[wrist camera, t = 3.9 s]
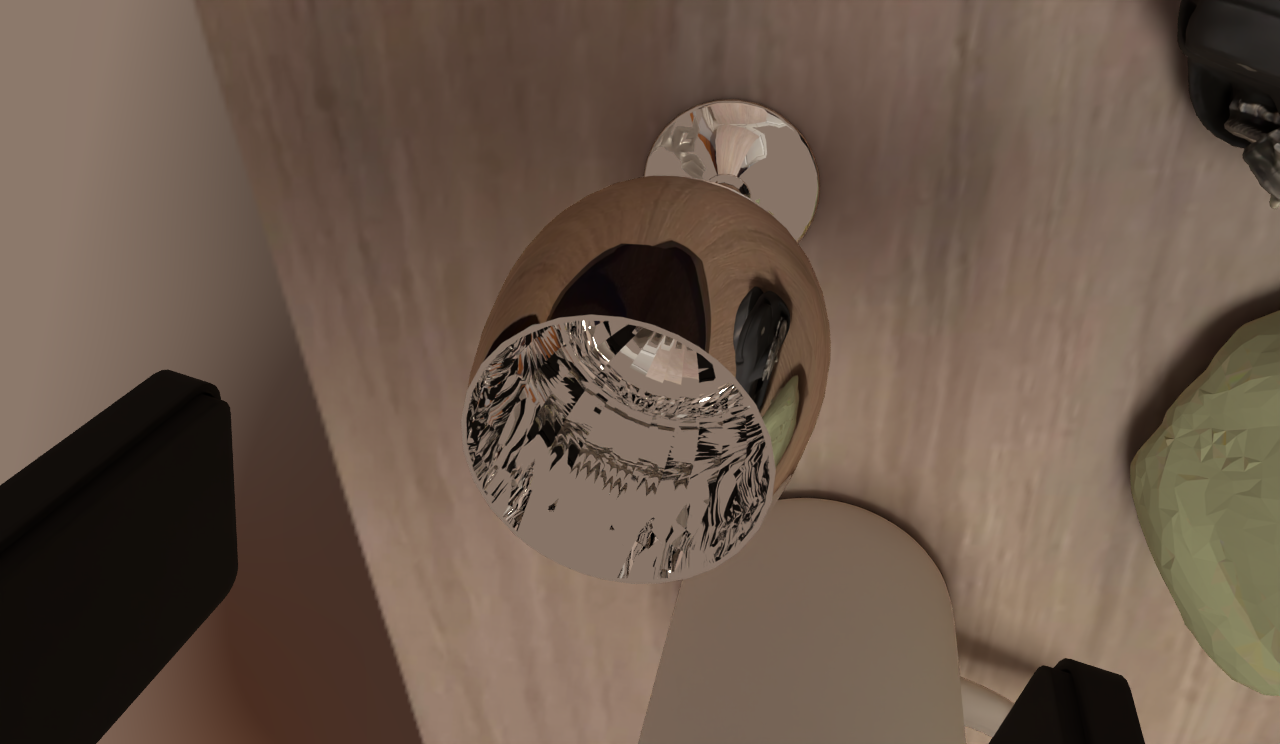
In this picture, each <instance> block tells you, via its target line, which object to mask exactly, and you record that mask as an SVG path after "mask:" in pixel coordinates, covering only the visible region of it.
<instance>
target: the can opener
mask: <svg viewBox="0 0 1280 744" xmlns="http://www.w3.org/2000/svg"><path fill="white" fill-rule="evenodd" d="M1178 43H1179V47H1180V49H1181V50H1182V52H1183V54H1184V55H1186V56H1187V57H1188V83H1189V93H1190V98H1191V101H1192V104H1193V107H1194V109H1195V112H1196V115H1197V116H1198V118H1199V119H1200V121H1201V122H1202V124H1203V125H1204V126H1205V127H1206V128H1207V130H1209V131H1210V132H1212V133H1213V134H1214V135H1215V136H1216V137H1218V138H1220V139H1222V140H1223V141H1225V142H1227V143H1229V144H1231V145H1232V146H1236V147H1240V148H1244V149H1245V150H1244V152H1243V154H1242V156H1243V159H1244V161H1245V162H1246V163H1247V164H1248V165H1249V167H1250V170H1251V171H1252V172H1253V174H1254V175H1255V177H1256V178H1257V180H1258V181H1259V183H1260V185H1261V186H1262V187H1263V188H1264V189H1265V190H1266V191H1267V192H1268V193H1269V194H1271V198H1270V202H1269V203H1270V207H1271V208H1273V209H1276V208H1278V207H1279V206H1280V0H1182V1H1181V5H1180V10H1179V16H1178Z"/></svg>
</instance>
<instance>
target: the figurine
mask: <svg viewBox="0 0 1280 744" xmlns="http://www.w3.org/2000/svg"><path fill="white" fill-rule="evenodd" d="M1130 481H1131V492H1132V496H1133V500H1134V504H1135V508H1136V512H1137V516H1138V519H1139V522H1140V525H1141V528H1142V531H1143V533H1144V536H1145V539H1146V542H1147V544H1148V547H1149V549H1150V552H1151V554H1152V556H1153V559H1154V561H1155V563H1156V565H1157V567H1158V570H1159V572H1160V574H1161V576H1162V578H1163V580H1164V582H1165V583H1166V585H1167V587H1168V589H1169V591H1170V593H1171V595H1172V597H1173V599H1174V601H1175V603H1176V605H1177V607H1178V609H1179V611H1180V613H1181V616H1182V618H1183V620H1184V623H1185V625H1186V626H1187V627H1188V629H1189V630H1190V631H1191V632H1192V634H1193V635H1194V636H1195V638H1196V640H1197V641H1198V643H1199V645H1200V646H1201V647H1202V648H1203V649H1204V651H1205V652H1206V653H1207V654H1208V656H1209V657H1210V658H1211V659H1212V660H1213V661H1214V662H1215V663H1216V664H1217V665H1218V666H1219V667H1220V668H1221V669H1222V670H1223V671H1224V672H1225V673H1226V674H1227V675H1228V676H1229V677H1230V678H1231V679H1232V680H1234V681H1236V682H1239V683H1241V684H1243V685H1245V686H1247V687H1249V688H1251V689H1253V690H1255V691H1257V692H1259V693H1261V694H1263V695H1271V696H1280V310H1279V311H1276V312H1274V313H1271V314H1269V315H1266V316H1263V317H1261V318H1258V319H1256V320H1253V321H1251V322H1248V323H1245V324H1244V325H1243V326H1241V327H1240V328H1239V329H1238V330H1237V331H1236V332H1235V333H1234V334H1233V335H1232V336H1231V338H1230V339H1229V340H1228V341H1227V342H1226V343H1225V344H1224V346H1223V347H1222V348H1221V349H1220V350H1219V351H1218V352H1217V354H1216V355H1215V356H1214V358H1213V359H1212V361H1211V363H1210V365H1209V366H1208V368H1207V369H1206V370H1205V371H1204V372H1203V373H1202V374H1201V375H1200V376H1199V377H1198V378H1197V379H1196V380H1195V381H1194V382H1193V383H1191V384H1190V385H1189V386H1188V387H1187V388H1186V389H1185V390H1184V391H1183V392H1182V393H1181V395H1180V396H1179V397H1178V398H1177V399H1176V401H1175V402H1174V403H1173V404H1172V405H1171V407H1170V408H1169V409H1168V410H1167V412H1166V414H1165V417H1164V419H1163V422H1162V424H1161V425H1160V426H1159V428H1158V429H1157V430H1156V431H1155V432H1154V433H1153V434H1152V436H1151V437H1150V438H1149V439H1148V440H1147V441H1146V442H1145V443H1144V445H1143V446H1142V447H1141V448H1140V449H1139V450H1138V452H1137V453H1136V455H1135V457H1134V459H1133V460H1132V462H1131V467H1130Z"/></svg>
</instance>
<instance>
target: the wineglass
mask: <svg viewBox="0 0 1280 744" xmlns="http://www.w3.org/2000/svg"><path fill="white" fill-rule="evenodd" d="M819 195H820V178H819V170H818V167H817V163H816V159H815V157H814V154H813V152H812V150H811V148H810V146H809V144H808V142H807V141H806V139H805V138H804V136H803V135H802V134H801V132H800V131H799V130H798V129H797V128H796V127H795V126H794V125H793V124H791V123H790V122H789V121H788V120H787V119H786V118H784V117H783V116H782V115H781V114H779V113H777V112H775V111H773V110H771V109H769V108H767V107H765V106H763V105H761V104H758V103H754V102H749V101H744V100H740V99H724V100H714V101H710V102H706V103H702V104H698V105H696V106H694V107H692V108H690V109H688V110H686V111H684V112H682V113H681V114H679V115H678V116H677V117H676V118H674V119H673V120H672V121H671V122H670V123H669V124H668V125H666V126H665V127H664V129H663V130H662V132H661V133H660V134H659V136H658V137H657V138H656V140H655V141H654V143H653V145H652V148H651V150H650V152H649V155H648V157H647V160H646V166H645V171H644V177H638V178H634V179H630V180H626V181H622V182H617V183H614V184H612V185H610V186H607V187H605V188H603V189H601V190H598V191H596V192H594V193H592V194H590V195H587V196H586V197H584V198H582V199H581V200H579V201H577V202H576V203H574V204H573V205H571V206H569V207H568V208H566V209H565V210H564V211H562V212H561V213H560V214H559V215H557V216H556V217H555V218H554V219H553V220H552V221H550V222H549V223H548V224H547V225H546V226H545V227H544V228H543V229H542V230H541V231H540V232H539V234H538V235H537V236H536V237H535V238H534V239H533V240H532V241H531V243H530V244H529V245H528V246H527V247H526V248H525V250H524V251H523V253H522V254H521V256H520V257H519V259H518V260H517V261H516V263H515V264H514V266H513V267H512V269H511V270H510V272H509V274H508V276H507V277H506V280H505V282H504V284H503V286H502V288H501V290H500V292H499V294H498V297H497V299H496V301H495V303H494V305H493V308H492V310H491V312H490V314H489V317H488V319H487V321H486V324H485V326H484V329H483V331H482V334H481V338H480V341H479V345H478V348H477V352H476V355H475V358H474V362H473V365H472V369H471V372H470V376H469V382H468V389H467V393H466V398H465V403H464V408H463V413H462V418H461V429H462V441H463V452H464V455H465V458H466V460H467V463H468V466H469V469H470V472H471V475H472V478H473V481H474V482H475V484H476V486H477V487H478V489H479V491H480V492H481V494H482V496H483V497H484V499H485V500H486V502H487V504H488V505H489V507H490V509H491V510H492V511H493V512H494V513H495V514H496V515H497V516H498V517H499V518H500V519H501V520H502V522H503V523H504V524H505V525H506V526H507V527H508V528H509V529H510V530H511V531H512V532H513V533H514V534H515V535H516V536H517V537H518V538H520V539H521V540H522V541H523V542H525V543H526V544H527V545H529V546H530V547H532V548H533V549H534V550H536V551H537V552H539V553H540V554H542V555H544V556H546V557H547V558H549V559H551V560H553V561H555V562H557V563H558V564H560V565H563V566H565V567H568V568H570V569H573V570H575V571H577V572H580V573H583V574H586V575H590V576H593V577H597V578H601V579H604V580H610V581H617V582H624V583H631V584H639V583H665V582H670V581H676V580H682V579H687V578H690V577H693V576H696V575H698V574H701V573H703V572H706V571H709V570H711V569H714V568H716V567H717V566H719V565H720V564H722V563H723V562H725V561H726V560H728V559H729V558H731V557H732V556H734V555H735V554H737V553H738V552H739V551H740V550H741V549H742V548H743V547H744V546H745V545H746V543H747V542H748V541H749V540H750V539H751V538H752V537H753V536H754V534H755V533H756V532H757V531H758V530H759V529H760V527H761V526H762V524H763V523H764V521H765V520H766V518H767V517H768V515H769V513H770V512H771V510H772V508H773V507H774V505H775V503H776V502H777V500H778V499H779V497H780V496H781V494H782V493H783V491H784V489H785V487H786V486H787V484H788V482H789V481H790V479H791V477H792V475H793V474H794V471H795V469H796V467H797V465H798V463H799V461H800V459H801V457H802V455H803V453H804V450H805V448H806V446H807V444H808V441H809V439H810V437H811V435H812V432H813V430H814V428H815V425H816V422H817V419H818V416H819V413H820V410H821V407H822V403H823V400H824V397H825V391H826V385H827V378H828V372H829V365H830V351H831V340H830V326H829V320H828V315H827V311H826V306H825V301H824V296H823V292H822V289H821V287H820V284H819V282H818V279H817V277H816V275H815V272H814V270H813V267H812V265H811V263H810V261H809V258H808V257H807V255H806V254H805V253H804V251H803V250H802V248H801V247H800V245H799V244H798V242H799V241H800V240H801V239H802V238H803V237H804V236H805V234H806V232H807V231H808V229H809V227H810V225H811V223H812V222H813V220H814V217H815V214H816V210H817V207H818V204H819Z"/></svg>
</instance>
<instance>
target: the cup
mask: <svg viewBox="0 0 1280 744" xmlns="http://www.w3.org/2000/svg"><path fill="white" fill-rule="evenodd" d="M1013 705H1014V703H1013V702H1011V701H1010V700H1008V699H1007V698H1005V697H1003V696H1001V695H1000V694H998V693H996V692H994V691H992V690H990V689H988V688H986V687H984V686H982V685H979V684H977V683H975V682H973V681H970V680H968V679H965V678H963V677H960V673H959V662H958V651H957V640H956V630H955V621H954V615H953V609H952V604H951V599H950V596H949V593H948V590H947V587H946V584H945V581H944V579H943V577H942V575H941V573H940V571H939V569H938V568H937V566H936V565H935V563H934V562H933V560H932V559H931V558H930V556H929V555H928V554H927V553H926V551H925V550H924V549H923V548H922V547H921V546H920V545H919V544H918V543H917V542H916V541H915V540H914V539H913V538H912V537H911V536H910V535H908V534H907V533H906V532H905V531H903V530H902V529H900V528H899V527H898V526H896V525H895V524H893V523H891V522H890V521H888V520H886V519H884V518H883V517H881V516H879V515H877V514H875V513H872V512H870V511H868V510H865V509H863V508H860V507H857V506H854V505H850V504H847V503H843V502H838V501H833V500H826V499H817V498H791V499H782V500H777V502H776V503H775V505H774V507H773V508H772V510H771V512H770V513H769V515H768V517H767V518H766V520H765V521H764V523H763V524H762V526H761V527H760V529H759V530H758V531H757V532H756V533H755V534H754V536H753V537H752V538H751V539H750V540H749V541H748V542H747V543H746V545H745V546H744V547H743V548H742V549H741V550H740V551H739V552H738V553H737V554H735V555H734V556H732V557H731V558H729V559H728V560H726V561H725V562H723V563H722V564H720V565H719V566H717V567H716V568H714V569H711V570H709V571H706V572H703V573H701V574H698V575H696V576H693V577H690V578H687V579H683V580H682V583H681V586H680V590H679V593H678V597H677V600H676V604H675V608H674V611H673V615H672V619H671V622H670V626H669V630H668V634H667V637H666V641H665V645H664V649H663V652H662V656H661V660H660V664H659V667H658V671H657V675H656V679H655V682H654V686H653V690H652V694H651V697H650V701H649V705H648V709H647V712H646V716H645V720H644V724H643V727H642V731H641V735H640V739H639V742H638V744H966V738H965V727H964V726H966V727H969V728H972V729H975V730H977V731H980V732H982V733H984V734H986V735H988V736H990V737H992V738H993V736H994V735H995V733H996V732H997V730H998V729H999V727H1000V725H1001V724H1002V722H1003V721H1004V719H1005V718H1006V716H1007V715H1008V713H1009V712H1010V710H1011V708H1012V707H1013Z"/></svg>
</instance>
